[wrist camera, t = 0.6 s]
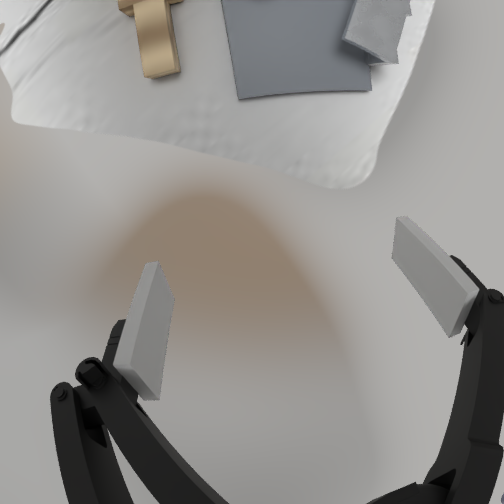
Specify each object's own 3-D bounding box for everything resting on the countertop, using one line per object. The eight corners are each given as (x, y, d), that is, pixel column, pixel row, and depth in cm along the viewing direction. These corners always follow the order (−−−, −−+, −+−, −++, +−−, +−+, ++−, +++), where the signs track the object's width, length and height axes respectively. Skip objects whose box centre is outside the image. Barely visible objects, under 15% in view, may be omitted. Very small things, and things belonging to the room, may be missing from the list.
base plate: (215, -35, 20) (214, -39, 19) (344, -35, 20) (348, -39, 19) (238, 99, 31) (238, 99, 30) (366, 90, 31) (371, 90, 30)
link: (125, -23, 19) (115, -32, 16) (177, -38, 19) (172, -50, 16) (140, 82, 28) (130, 82, 25) (194, 68, 28) (190, 65, 25)
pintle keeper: (241, -16, 22) (246, -44, 15) (378, -10, 22) (411, -25, 15) (257, 69, 29) (266, 61, 22) (392, 68, 29) (429, 67, 22)
